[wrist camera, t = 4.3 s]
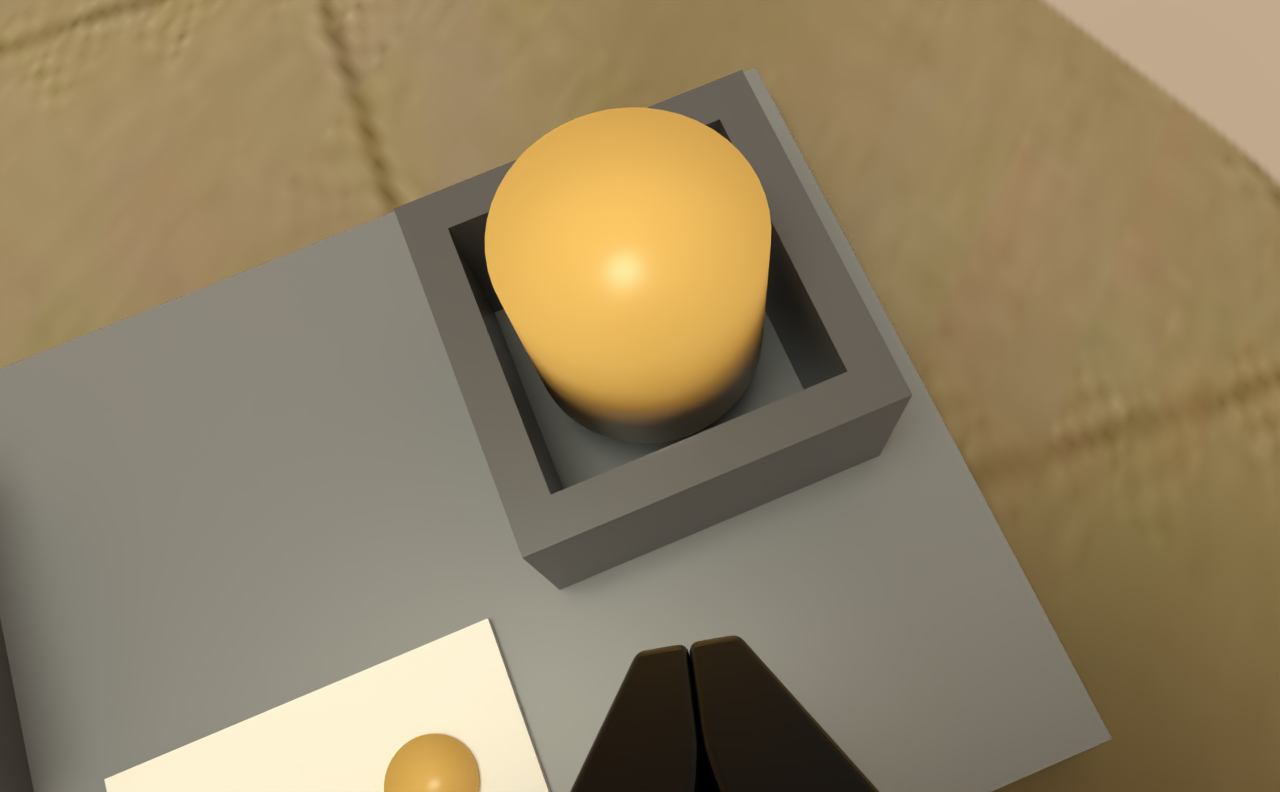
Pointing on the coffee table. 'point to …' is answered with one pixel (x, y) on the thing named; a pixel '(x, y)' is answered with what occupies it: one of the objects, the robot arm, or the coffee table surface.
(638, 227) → the amber button
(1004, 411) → the coffee table surface
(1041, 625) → the button panel
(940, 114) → the coffee table surface
